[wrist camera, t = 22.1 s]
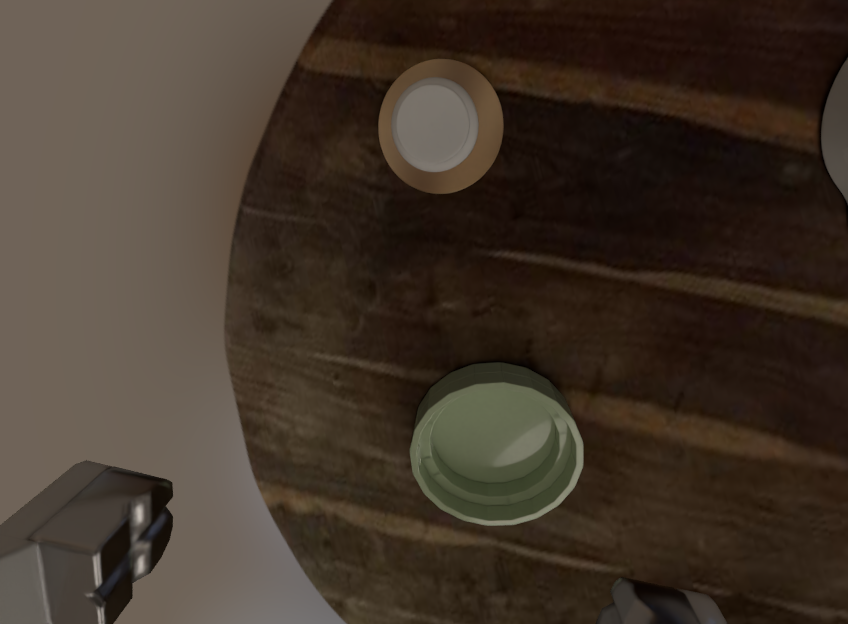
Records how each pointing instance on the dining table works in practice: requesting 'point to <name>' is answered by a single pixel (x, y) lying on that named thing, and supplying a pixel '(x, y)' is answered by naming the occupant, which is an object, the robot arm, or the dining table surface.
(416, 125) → the pill bottle
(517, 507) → the bowl
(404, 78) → the coaster
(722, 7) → the dining table surface
